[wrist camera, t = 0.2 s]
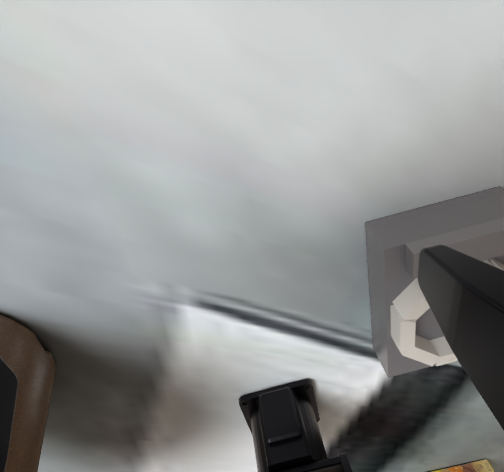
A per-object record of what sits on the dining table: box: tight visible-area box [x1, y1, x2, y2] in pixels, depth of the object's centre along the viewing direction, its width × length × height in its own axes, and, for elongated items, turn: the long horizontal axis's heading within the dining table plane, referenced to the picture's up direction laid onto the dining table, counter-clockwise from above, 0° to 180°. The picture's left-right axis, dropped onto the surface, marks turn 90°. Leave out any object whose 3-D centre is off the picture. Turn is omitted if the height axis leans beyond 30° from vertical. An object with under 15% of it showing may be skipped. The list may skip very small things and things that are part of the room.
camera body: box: [365, 186, 504, 377], centre depth 28 cm, size 13×9×4 cm
